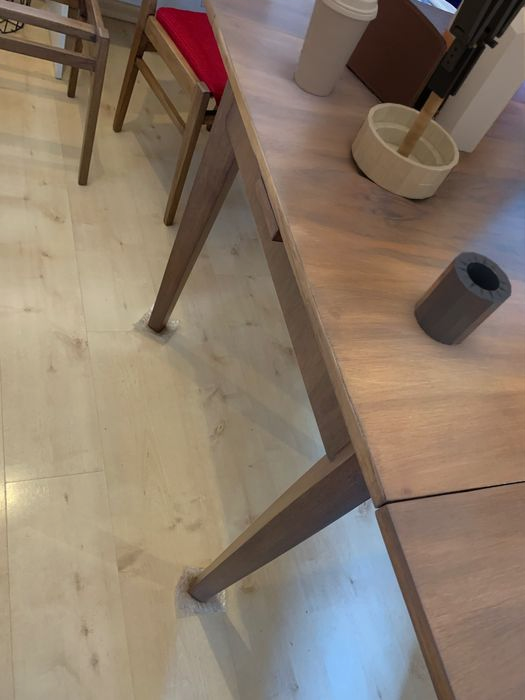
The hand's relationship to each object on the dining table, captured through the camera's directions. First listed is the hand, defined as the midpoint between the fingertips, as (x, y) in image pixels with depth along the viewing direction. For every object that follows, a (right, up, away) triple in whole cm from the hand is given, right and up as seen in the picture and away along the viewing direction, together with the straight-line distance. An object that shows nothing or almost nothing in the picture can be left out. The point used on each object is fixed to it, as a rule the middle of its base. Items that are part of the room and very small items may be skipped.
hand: (441, 90), depth 72 cm
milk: (+9, +2, +23) cm, 25 cm away
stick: (-4, -6, +9) cm, 12 cm away
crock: (-2, -30, -4) cm, 31 cm away
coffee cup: (-15, +10, +19) cm, 26 cm away
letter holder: (-2, +13, +27) cm, 30 cm away
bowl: (-3, -6, +12) cm, 14 cm away
